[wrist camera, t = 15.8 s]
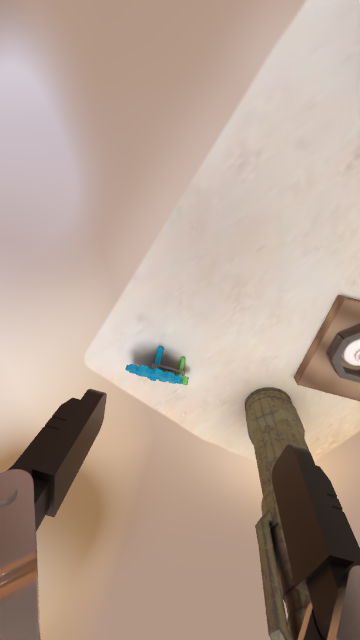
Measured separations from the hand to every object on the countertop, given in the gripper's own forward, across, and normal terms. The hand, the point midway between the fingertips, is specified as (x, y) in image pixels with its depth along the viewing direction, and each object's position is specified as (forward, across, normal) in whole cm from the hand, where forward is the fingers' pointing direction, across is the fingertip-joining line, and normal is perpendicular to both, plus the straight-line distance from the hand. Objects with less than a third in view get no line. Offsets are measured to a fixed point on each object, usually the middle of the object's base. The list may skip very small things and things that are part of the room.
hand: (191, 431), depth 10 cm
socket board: (+30, -26, +6) cm, 40 cm away
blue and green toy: (+30, +4, +19) cm, 36 cm away
